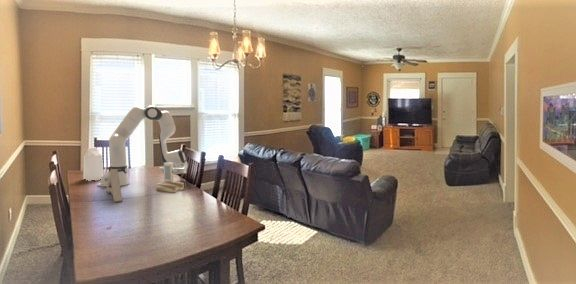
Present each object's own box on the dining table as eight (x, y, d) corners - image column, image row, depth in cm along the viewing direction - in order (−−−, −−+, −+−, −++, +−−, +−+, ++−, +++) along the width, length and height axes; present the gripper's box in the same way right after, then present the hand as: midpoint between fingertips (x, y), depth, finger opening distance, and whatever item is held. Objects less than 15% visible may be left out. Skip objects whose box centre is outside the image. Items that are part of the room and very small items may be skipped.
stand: (166, 187, 297) (166, 181, 296) (184, 188, 290) (184, 182, 290) (156, 190, 287) (156, 183, 286) (174, 192, 280) (174, 185, 280)
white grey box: (166, 182, 303) (165, 162, 302) (173, 182, 303) (172, 162, 301) (164, 183, 300) (163, 163, 298) (171, 183, 299) (170, 163, 297)
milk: (98, 177, 336) (97, 146, 333) (104, 179, 328) (102, 147, 325) (83, 179, 327) (81, 147, 324) (88, 181, 319) (87, 148, 316)
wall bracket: (117, 217, 276) (122, 200, 253) (110, 218, 273) (114, 201, 251) (113, 188, 285) (117, 169, 262) (106, 189, 282) (110, 169, 260)
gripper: (163, 164, 314) (154, 166, 301) (188, 165, 311) (180, 167, 298) (163, 172, 315) (155, 175, 301) (188, 173, 312) (181, 176, 298)
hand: (168, 171), depth 300 cm, fingers closed on white grey box, 5 cm apart
